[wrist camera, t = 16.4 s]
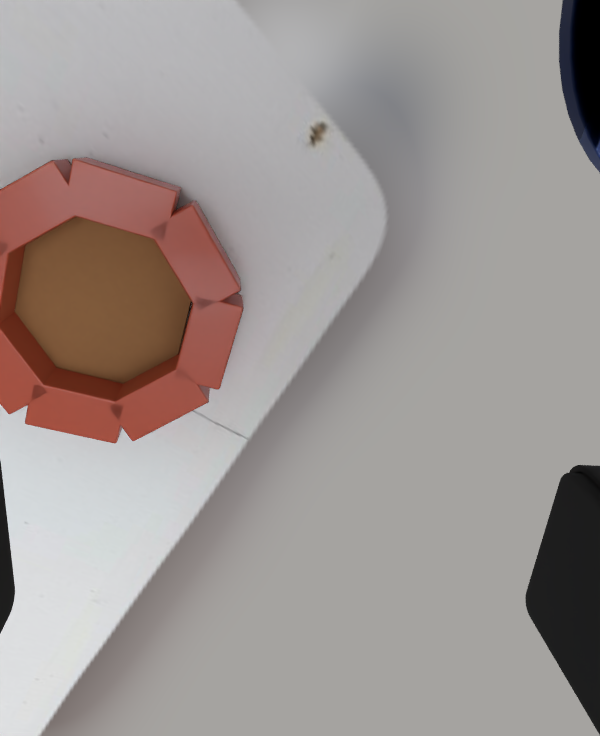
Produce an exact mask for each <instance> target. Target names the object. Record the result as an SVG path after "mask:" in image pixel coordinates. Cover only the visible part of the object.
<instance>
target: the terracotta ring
mask: <svg viewBox="0 0 600 736" xmlns="http://www.w3.org/2000/svg"><path fill="white" fill-rule="evenodd" d="M180 191H181V188H180V187H178V186H175V185H171V184H168V183H165V182H162V181H159V180H156V179H153V178H149V177H146V176H143V175H140V174H137V173H134V172H131V171H128V170H124V169H121V168H118V167H115V166H112V165H109V164H106V163H103V162H99V161H96V160H93V159H90V158H87V157H85V158H75V159H73V160H72V166H71V165H70V163H69V161H68V160H67V159H62V160H52V161H50V162H48V163H46V164H45V165H43V166H41V167H39V168H37V169H36V170H34V171H32V172H30V173H29V174H27V175H25V176H23V177H22V178H20V179H18V180H16V181H15V182H13V183H11V184H9V185H7V186H6V187H4V188H2V189H0V404H1V405H2V406H3V408H4V409H5V410H6V411H7V413H8V414H11V413H13V412H15V411H17V410H19V409H21V408H23V407H24V406H26V405H28V408H27V414H26V419H25V424H28V425H33V426H37V427H42V428H47V429H51V430H56V431H60V432H65V433H69V434H74V435H79V436H83V437H88V438H92V439H97V440H102V441H106V442H111V443H116V442H117V440H118V437H119V435H120V432H121V429H122V428H123V429H124V430H125V432H126V433H127V434H128V436H129V437H130V439H131V440H132V441H135V440H137V439H139V438H141V437H143V436H144V435H146V434H148V433H150V432H152V431H154V430H156V429H158V428H160V427H162V426H164V425H166V424H168V423H169V422H171V421H173V420H175V419H177V418H179V417H181V416H183V415H185V414H187V413H189V412H191V411H192V410H194V409H196V408H198V407H200V406H202V405H204V404H206V403H208V402H209V389H210V388H214V389H219V388H220V386H221V382H222V379H223V376H224V372H225V369H226V365H227V362H228V359H229V355H230V352H231V349H232V345H233V342H234V339H235V335H236V332H237V328H238V325H239V322H240V318H241V315H242V312H243V300H242V296H241V295H238V294H236V293H238V292H239V291H240V290H241V285H240V278H239V276H238V274H237V272H236V271H235V269H234V267H233V265H232V263H231V262H230V260H229V258H228V256H227V255H226V253H225V251H224V249H223V247H222V246H221V244H220V242H219V240H218V239H217V237H216V235H215V233H214V231H213V230H212V228H211V226H210V224H209V223H208V221H207V219H206V217H205V215H204V214H203V212H202V210H201V208H200V207H199V205H198V203H197V201H195V200H193V201H191V202H190V203H188V204H186V205H184V206H182V207H180V208H179V209H177V210H176V208H177V204H178V199H179V195H180ZM75 217H79V218H83V219H86V220H89V221H93V222H96V223H99V224H103V225H106V226H110V227H113V228H116V229H120V230H123V231H126V232H130V233H133V234H137V235H140V236H143V237H147V238H150V239H153V240H154V241H155V243H156V244H157V246H158V248H159V249H160V251H161V253H162V254H163V256H164V258H165V259H166V261H167V262H168V264H169V266H170V267H171V269H172V271H173V272H174V274H175V276H176V277H177V279H178V280H179V282H180V284H181V285H182V287H183V289H184V290H185V292H186V294H187V295H188V297H189V299H190V300H191V302H192V307H191V311H190V314H189V318H188V322H187V326H186V329H185V333H184V337H183V341H182V344H181V348H180V352H179V354H178V355H176V356H174V357H172V358H170V359H168V360H166V361H165V362H163V363H161V364H159V365H157V366H155V367H153V368H151V369H149V370H148V371H146V372H144V373H142V374H140V375H138V376H136V377H134V378H132V379H131V380H129V381H127V382H125V383H123V384H122V383H118V382H114V381H110V380H106V379H102V378H97V377H93V376H89V375H85V374H81V373H77V372H73V371H68V370H64V369H60V368H56V366H55V365H54V364H53V362H52V361H51V360H50V358H49V357H48V356H47V354H46V353H45V352H44V350H43V349H42V348H41V346H40V345H39V344H38V342H37V341H36V340H35V338H34V337H33V336H32V334H31V333H30V332H29V330H28V329H27V328H26V326H25V325H24V324H23V322H22V321H21V320H20V318H19V317H18V316H17V314H16V313H15V312H14V311H15V305H16V299H17V293H18V287H19V281H20V275H21V269H22V263H23V256H24V250H25V245H27V244H28V243H30V242H32V241H34V240H36V239H37V238H39V237H41V236H43V235H45V234H46V233H48V232H50V231H52V230H54V229H55V228H57V227H59V226H61V225H63V224H64V223H66V222H68V221H70V220H72V219H73V218H75Z"/></svg>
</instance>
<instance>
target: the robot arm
mask: <svg viewBox="0 0 600 736" xmlns="http://www.w3.org/2000/svg"><path fill="white" fill-rule="evenodd" d="M14 595H15V586H14V577H13V568H12V559H11V550H10V541H9V532H8V523H7V515H6V506H5V497H4V488H3V479H2V470H1V462H0V633H1V631H2V629H3V627H4V625H5V623H6V621H7V619H8V617H9V615H10V612H11V610H12V606H13V602H14ZM526 607H527V610H528V613H529V615H530V617H531V619H532V621H533V623H534V624H535V626H536V628H537V629H538V631H539V633H540V634H541V636H542V638H543V639H544V641H545V643H546V645H547V646H548V648H549V650H550V651H551V653H552V655H553V656H554V658H555V660H556V661H557V663H558V665H559V667H560V668H561V670H562V672H563V673H564V675H565V677H566V678H567V680H568V682H569V684H570V685H571V687H572V689H573V690H574V692H575V694H576V695H577V697H578V699H579V700H580V702H581V704H582V706H583V707H584V709H585V711H586V712H587V714H588V716H589V717H590V719H591V721H592V723H593V724H594V726H595V728H596V729H597V731H598V732H599V734H600V466H589V465H587V466H586V465H577V466H575V467H573V468H572V469H571V470H570V472H569V473H566V474H564V475H563V477H562V478H561V480H560V483H559V486H558V489H557V493H556V496H555V499H554V503H553V506H552V509H551V513H550V516H549V519H548V522H547V526H546V529H545V533H544V536H543V539H542V542H541V545H540V549H539V552H538V555H537V559H536V562H535V565H534V569H533V572H532V576H531V579H530V582H529V586H528V589H527V592H526Z"/></svg>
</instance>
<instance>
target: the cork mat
mask: <svg viewBox="0 0 600 736" xmlns="http://www.w3.org/2000/svg"><path fill="white" fill-rule="evenodd" d="M190 304H191V300H190V299H189V297H188V295H187V294H186V292H185V290H184V289H183V287H182V285H181V284H180V282H179V280H178V279H177V277H176V276H175V274H174V272H173V271H172V269H171V267H170V266H169V264H168V262H167V261H166V259H165V258H164V256H163V254H162V253H161V251H160V249H159V248H158V246H157V244H156V243H155V241H154V240H153V239H150V238H147V237H143V236H140V235H137V234H133V233H130V232H126V231H123V230H120V229H116V228H113V227H110V226H106V225H103V224H99V223H96V222H93V221H89V220H86V219H83V218H79V217H75V218H73V219H72V220H70V221H68V222H66V223H64V224H63V225H61V226H59V227H57V228H55V229H54V230H52V231H50V232H48V233H46V234H45V235H43V236H41V237H39V238H37V239H36V240H34V241H32V242H30V243H28V244H27V245H25V250H24V256H23V263H22V269H21V275H20V281H19V287H18V293H17V299H16V306H15V313H16V314H17V316H18V317H19V318H20V320H21V321H22V322H23V324H24V325H25V326H26V328H27V329H28V330H29V332H30V333H31V334H32V336H33V337H34V338H35V340H36V341H37V342H38V344H39V345H40V346H41V348H42V349H43V350H44V352H45V353H46V354H47V356H48V357H49V358H50V360H51V361H52V362H53V364H54V365H55V366H56V368H60V369H64V370H68V371H73V372H77V373H81V374H85V375H89V376H93V377H97V378H102V379H106V380H110V381H115V382H119V383H125V382H127V381H129V380H131V379H132V378H134V377H136V376H138V375H140V374H142V373H144V372H146V371H148V370H149V369H151V368H153V367H155V366H157V365H159V364H161V363H163V362H165V361H166V360H168V359H170V358H172V357H174V356H176V355H178V354H179V350H180V345H181V341H182V337H183V333H184V329H185V325H186V320H187V316H188V312H189V308H190Z"/></svg>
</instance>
